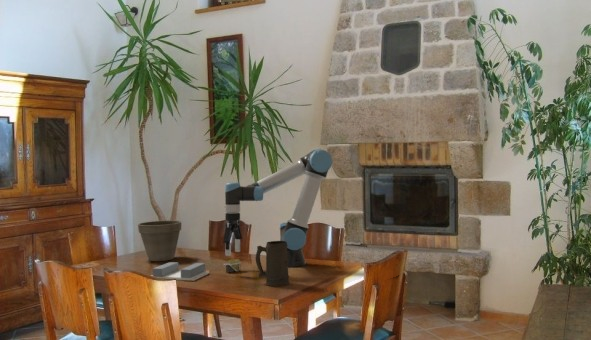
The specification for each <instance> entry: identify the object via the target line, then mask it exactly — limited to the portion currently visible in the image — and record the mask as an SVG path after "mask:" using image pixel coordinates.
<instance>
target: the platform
mask: <svg viewBox="0 0 591 340" xmlns="http://www.w3.org/2000/svg"><path fill="white" fill-rule="evenodd" d="M227 261H228V262H225V263H223V265H224V266H225V273H232V272H239V271H240V265H241V264H242V261H241V260H240V259H239V258H237V259H236V258H235V259H228V260H227Z"/></svg>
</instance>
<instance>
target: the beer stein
mask: <svg viewBox="0 0 591 340" xmlns="http://www.w3.org/2000/svg"><path fill="white" fill-rule="evenodd" d="M287 246H288V245H287V242H286V241H280V240H272V241H267V242H266V245H265V247H264V246H262V245H257V246H256V248H257V249H256V252H255V264H256V266H257V268H258V271H259V272H258V278H262V277H265V279H266V282H265V283H266V285H267V286H269V285H270V287H284V285H285V286H288V285H289V284H290V276H289V267H288V260H287ZM262 252H265V254H266V256H265V257H266V258H265V260H266V261H265V271H264V269H263V266H262V263H261V254H262Z"/></svg>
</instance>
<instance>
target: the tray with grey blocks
mask: <svg viewBox="0 0 591 340" xmlns="http://www.w3.org/2000/svg"><path fill="white" fill-rule="evenodd" d="M209 274H210V271H209V270H206V263H205V262H204V263H203V262H195V263H192V264H190V265H188V266H185V267H183V268H180V270H179V261H178V262H174V261H172V262H171V261H170V262H167V263H164V264H161V265H159V266H156V267H152V275H151V276H153V277H157V278H165V279H176V280H175V281H190V282H191V281H193V282H195V281H196V280H198V279H200V278H203V277H205V276H207V275H209Z"/></svg>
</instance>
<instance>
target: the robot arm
mask: <svg viewBox="0 0 591 340" xmlns="http://www.w3.org/2000/svg"><path fill="white" fill-rule="evenodd" d="M332 166H333V157H332V155H331V154H330V153H329V152H328V151H327V150H326V149H322V148H319V149H313V150H311V151H310V152H309V153H307V154H306V155H304V156H302V157H300V158H299V159H298V161H297V162H294V163H292V164H290V165H288V166H286V167H283V168H281V169H280V170H278V171H276V172H274V173H272V174H270V175H268V176H265V177H264V178H261V179H259V180H258V181H256V182H254V183H251V184H248V185H246V186H242V185H241V184H240V182H227V183H226V184H225V192H224V194H225V195H224V197H225V203H224V204H225V206H224V209H225V214H224V216H225V221H227V222H225V228H224V229H225V230H224V235H223V240H222V244H223V243H224V244H225V245H224V251H225V252H224V254H225V255H224V256H226V257H231V256H232V253H231V250H232V249H231V248H232V246H231V245H232V244H231V243H232V242H231V240H232V238H233V237H232V236H234V237H235V239H234V252H237V253H240V252H241V240H242V239H243V235H242V231H241V230H242V228H241V221H240V220H241V202H260V201H261V202H262V201H263V200H264V194H266V193H268V192H271V191H272V190H275V189H277V188H278V187H280V186H283V185H285V184H286V183H289V182H290V181H293V180H295V179H297V178H299V177H301V176H303V175H305V178H304V181H303V184H302V187H301V188H300V189H301V190H300V193H299V196H298V199H297V201H296V204H295V208H294V210H293V213H292V216H291V218H290V219H288V220H287V222H281V223H280V224H279V234H280V235H279V237H280V240H279V241H286V242H287V245H288V246H287V260H288V268H295V267H303V266H305V265H306V258H305V255H304V253H303V247H304V246H305V244H306V243H307V234H308V232H309V224H308V223H309V219H310V217H311V213H312V210H313V207H314V205H315V201H316V199H317V196H318V193H319V189H320V187H321V183H322V182H323V180H324V179H326V178H327V176H328V173H329V170H330V169H331V167H332Z"/></svg>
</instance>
